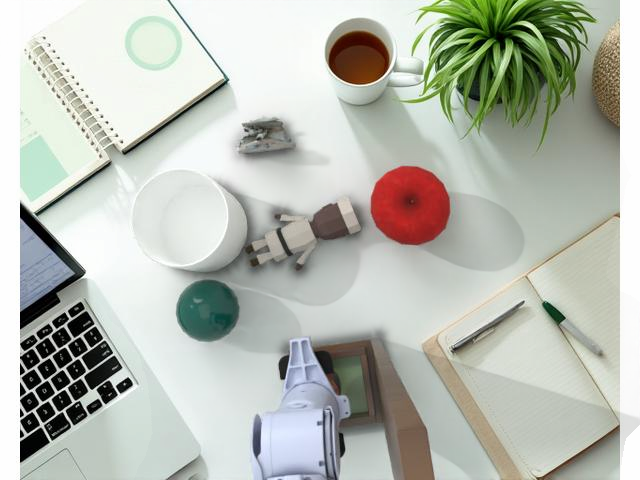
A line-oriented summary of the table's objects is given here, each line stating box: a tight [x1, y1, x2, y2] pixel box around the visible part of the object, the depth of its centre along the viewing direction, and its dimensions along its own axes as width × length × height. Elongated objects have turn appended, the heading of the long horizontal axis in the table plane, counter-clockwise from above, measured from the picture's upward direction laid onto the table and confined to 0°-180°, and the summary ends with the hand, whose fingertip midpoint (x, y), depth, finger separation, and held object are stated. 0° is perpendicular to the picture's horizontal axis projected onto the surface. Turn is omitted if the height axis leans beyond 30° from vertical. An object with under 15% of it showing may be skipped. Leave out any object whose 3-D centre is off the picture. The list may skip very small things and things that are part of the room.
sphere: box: [175, 278, 241, 343], centre depth 78 cm, size 8×8×8 cm
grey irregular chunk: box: [235, 115, 297, 155], centre depth 81 cm, size 4×8×7 cm, turn 97°
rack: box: [287, 337, 436, 480], centre depth 52 cm, size 11×12×57 cm
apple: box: [370, 165, 451, 246], centre depth 77 cm, size 10×10×11 cm
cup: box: [130, 167, 248, 273], centre depth 77 cm, size 12×12×12 cm
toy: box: [243, 195, 362, 272], centre depth 80 cm, size 8×5×15 cm
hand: (316, 395), depth 70 cm, fingers closed on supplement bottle, 6 cm apart
